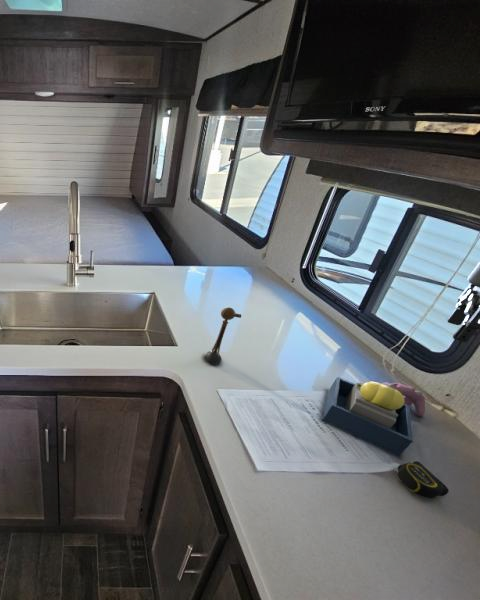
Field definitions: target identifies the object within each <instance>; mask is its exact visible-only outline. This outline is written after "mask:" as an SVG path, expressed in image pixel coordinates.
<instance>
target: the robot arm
mask: <svg viewBox="0 0 480 600" xmlns="http://www.w3.org/2000/svg"><path fill="white" fill-rule="evenodd" d="M467 282H468V283H469V284H468V285H466V287H465V289H464V290H463V291H462V293H461V294H460V295H459V296H458V298H456V304H455V309H454V310H453V312H452V313H450V316H448V318H447V319H446V320H447V323H448V324H451V325H455V326H459V327H458V328H457V330H456V331H455V332H454V333H453V334H452V338H453V340H455V341H459V342H462V343H467V342H468V341H470V339H471V338H472V336H473V335H474V334H475V333H476V332H477V331H478V330H479V331H480V261H479V262H478V263H477V264H476V266H475V268H473V270H472V272H471V273H470V274H469V275H468V277H467ZM477 320H478V321H477Z"/></svg>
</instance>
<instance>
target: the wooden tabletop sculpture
mask: <svg viewBox="0 0 480 600" xmlns="http://www.w3.org/2000/svg"><path fill="white" fill-rule="evenodd" d="M220 316H221V318H222V319H224V320H222V323H221V327H220V330H219V333H218V336H217V338H216V340H215V343H214V345H213V347H212V348H211V350H210V351H207V353H206V355H205V356H204V360H205V362H206V363H208V364H209V365H211V366H219V365H220V364H221V362H222V356H221V354H220V349H221V345H222V341H223V338H224V335H225V332H226V329H227V327H228V324H229V321H231V320H233V319H234V318H239V319H241V318H242V314H241V313H236V310H235V309H234V308H232V307H229V306H228V307H224V308H223V309H222V310H221V311H220Z"/></svg>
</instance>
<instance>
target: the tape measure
mask: <svg viewBox="0 0 480 600" xmlns="http://www.w3.org/2000/svg"><path fill="white" fill-rule="evenodd" d="M396 475H397V479H398V480H399V481H400V482H401V483H402V485H403V486H405V487H406V489H408V490H409V491H411V492H412V493H413V494H415V495H417V496H419V497H421V498H424V499H435V498H438V497H445V496H446V495H447V494H449V490H450V489H449V488H448V487H447V485H445V484H444V482H443V481H441V480H440V479H439V478H438V477H437V476H435V475H434V474H433V473H432V472H431V471H430V470H429V469H428V468H427V467H426V466H424V464H422V463H421V462H420V461H418V460H415V461H413V462H406V463H402V464H399V465H398V466H397V473H396Z"/></svg>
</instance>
